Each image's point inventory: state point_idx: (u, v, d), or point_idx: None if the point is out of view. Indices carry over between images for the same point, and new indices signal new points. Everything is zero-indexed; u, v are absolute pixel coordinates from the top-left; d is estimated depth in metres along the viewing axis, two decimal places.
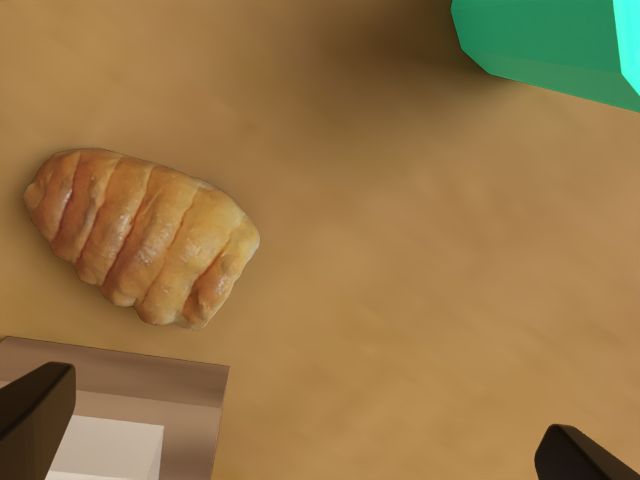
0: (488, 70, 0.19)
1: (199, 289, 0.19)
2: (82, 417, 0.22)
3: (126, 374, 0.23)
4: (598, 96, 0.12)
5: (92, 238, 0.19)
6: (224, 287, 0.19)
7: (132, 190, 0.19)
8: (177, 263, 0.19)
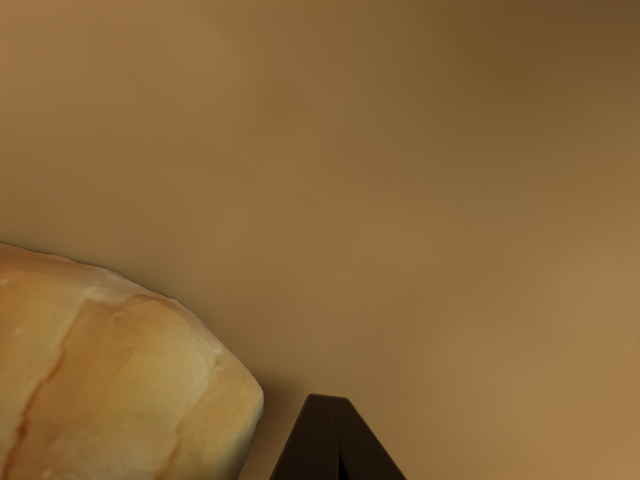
0: None
1: None
2: None
3: None
4: None
5: None
6: None
7: None
8: None
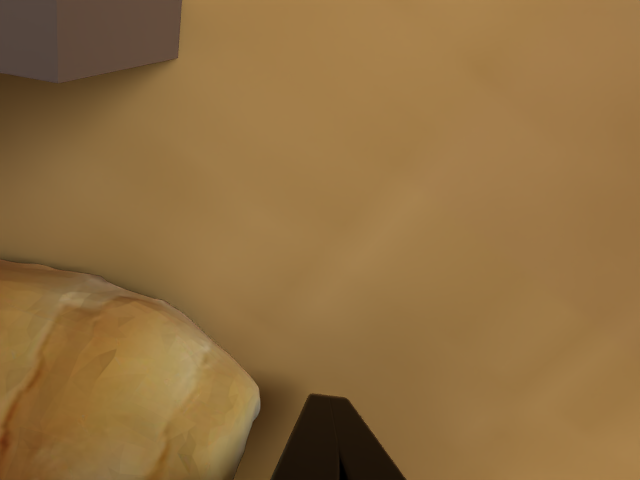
0: None
1: None
2: None
3: None
4: None
5: None
6: None
7: None
8: None
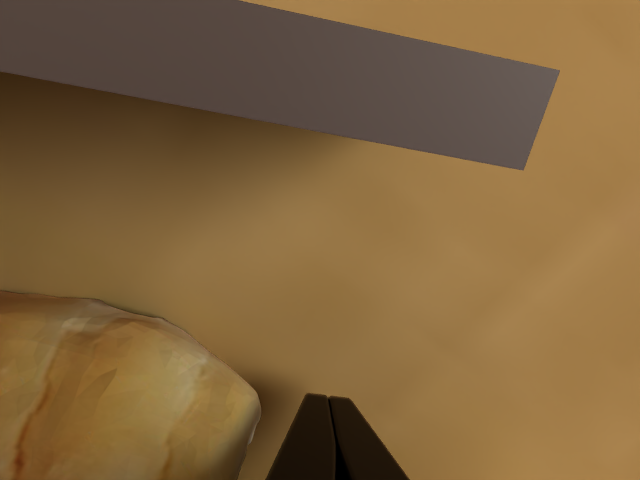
0: None
1: None
2: None
3: None
4: None
5: None
6: None
7: None
8: None
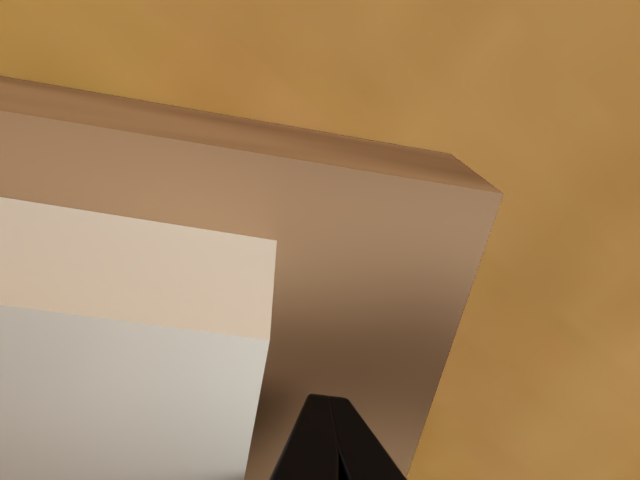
0: None
1: None
2: (56, 207, 0.08)
3: (238, 132, 0.09)
4: None
5: None
6: None
7: None
8: None
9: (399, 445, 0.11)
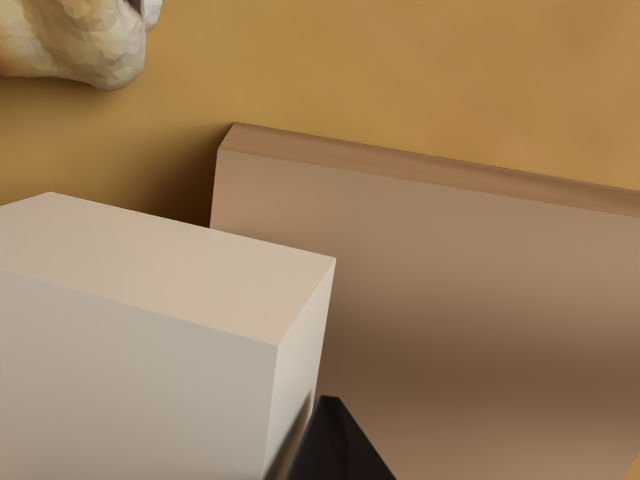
0: None
1: None
2: (150, 216, 0.09)
3: (514, 183, 0.10)
4: None
5: None
6: None
7: None
8: None
9: (623, 452, 0.12)
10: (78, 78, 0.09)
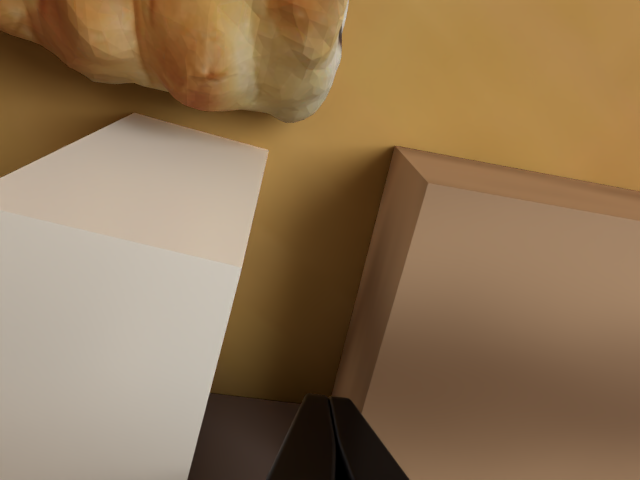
0: None
1: None
2: (258, 176, 0.09)
3: None
4: None
5: None
6: None
7: None
8: None
9: None
10: (267, 110, 0.09)
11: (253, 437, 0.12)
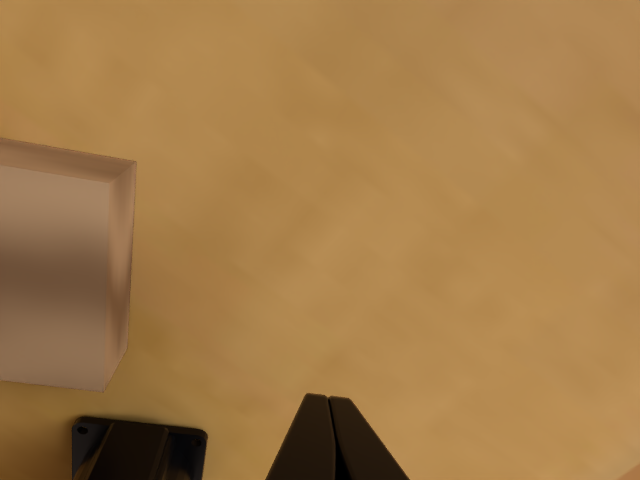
0: None
1: None
2: None
3: None
4: None
5: None
6: None
7: None
8: None
9: (94, 328, 0.18)
10: None
11: None
